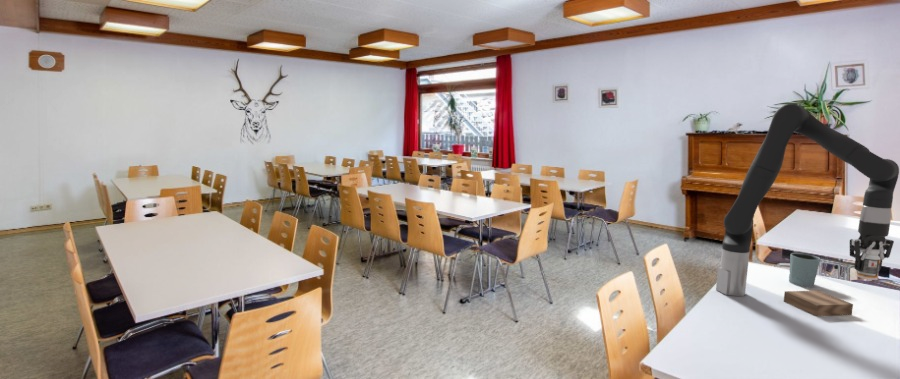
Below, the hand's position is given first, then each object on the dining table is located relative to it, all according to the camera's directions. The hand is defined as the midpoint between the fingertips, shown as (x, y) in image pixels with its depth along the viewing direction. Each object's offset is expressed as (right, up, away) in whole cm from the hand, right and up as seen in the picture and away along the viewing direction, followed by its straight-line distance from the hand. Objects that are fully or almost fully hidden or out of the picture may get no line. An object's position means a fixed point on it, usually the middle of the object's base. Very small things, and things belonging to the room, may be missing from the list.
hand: (867, 269), depth 159 cm
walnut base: (-5, -17, +16) cm, 24 cm away
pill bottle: (0, -3, 0) cm, 3 cm away
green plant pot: (+10, -13, +44) cm, 47 cm away
